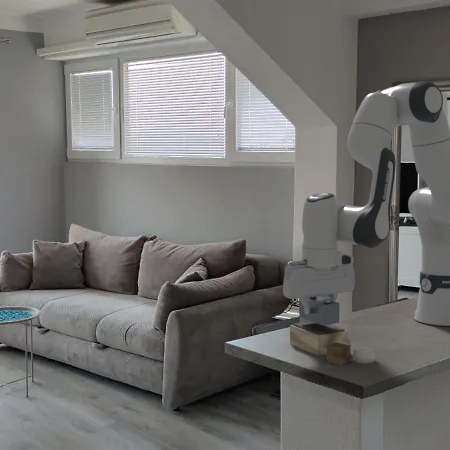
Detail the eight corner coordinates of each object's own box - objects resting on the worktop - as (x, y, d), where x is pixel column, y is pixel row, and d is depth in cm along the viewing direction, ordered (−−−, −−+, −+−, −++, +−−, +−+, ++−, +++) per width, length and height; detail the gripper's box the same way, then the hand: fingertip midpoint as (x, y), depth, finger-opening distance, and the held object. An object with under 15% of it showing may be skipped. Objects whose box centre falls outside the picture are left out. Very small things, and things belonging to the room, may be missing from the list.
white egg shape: (364, 356, 169) (365, 346, 169) (378, 362, 165) (379, 351, 165) (348, 359, 167) (348, 349, 167) (362, 365, 163) (362, 354, 162)
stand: (318, 339, 184) (318, 319, 184) (347, 350, 174) (347, 329, 173) (290, 344, 180) (290, 323, 179) (318, 356, 169) (318, 334, 169)
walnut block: (335, 358, 168) (336, 342, 167) (350, 361, 165) (350, 345, 165) (326, 362, 165) (327, 345, 164) (341, 365, 162) (341, 349, 162)
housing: (339, 322, 173) (339, 299, 172) (323, 325, 170) (323, 301, 170) (315, 314, 182) (315, 291, 181) (299, 316, 179) (299, 293, 178)
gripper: (292, 263, 167) (292, 320, 168) (359, 256, 176) (358, 310, 178) (277, 259, 172) (277, 314, 174) (343, 253, 182) (342, 305, 183)
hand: (318, 312), depth 176 cm, fingers closed on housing, 5 cm apart
